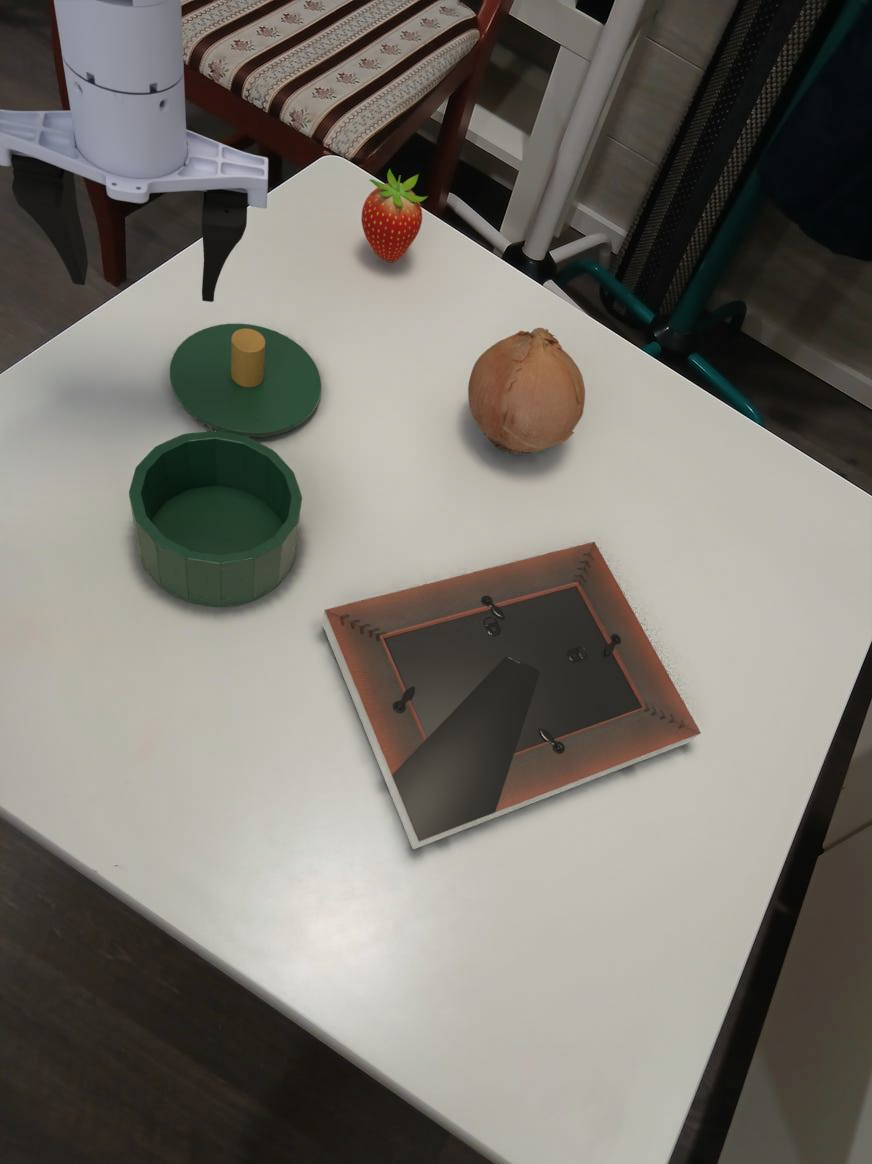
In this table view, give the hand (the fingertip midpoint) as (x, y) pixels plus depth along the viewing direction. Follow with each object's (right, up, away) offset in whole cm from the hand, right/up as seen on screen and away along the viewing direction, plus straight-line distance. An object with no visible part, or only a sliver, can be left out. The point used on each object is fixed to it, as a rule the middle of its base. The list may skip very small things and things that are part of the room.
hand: (145, 282), depth 54 cm
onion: (+24, -6, +17) cm, 30 cm away
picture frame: (+23, -26, +5) cm, 36 cm away
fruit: (+13, +12, +23) cm, 29 cm away
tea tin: (+3, -16, +4) cm, 17 cm away
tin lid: (+4, -3, +11) cm, 12 cm away
